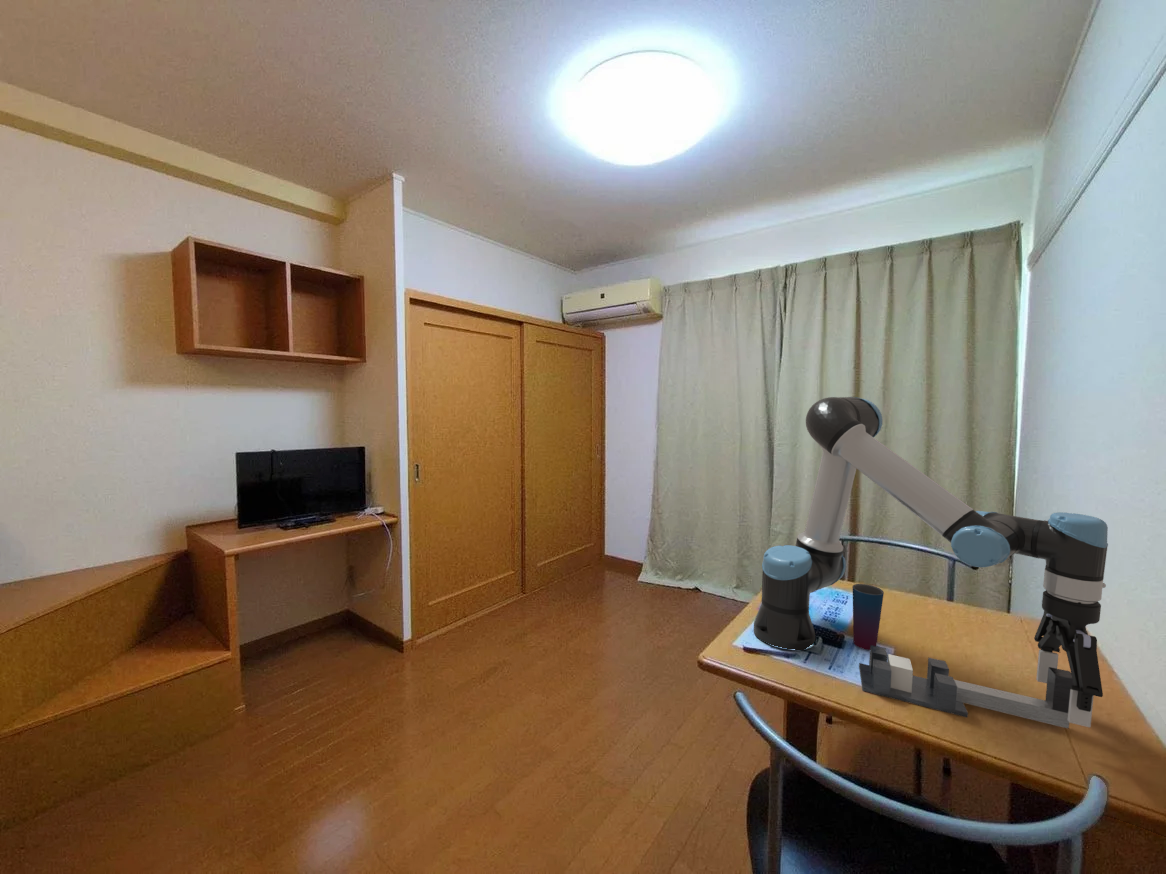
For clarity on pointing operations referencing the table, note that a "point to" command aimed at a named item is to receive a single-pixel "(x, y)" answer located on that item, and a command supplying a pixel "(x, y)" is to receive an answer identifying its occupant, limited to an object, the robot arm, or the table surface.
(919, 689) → the rail
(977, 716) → the table surface
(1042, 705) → the sliding bolt
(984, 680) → the table surface
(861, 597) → the cup
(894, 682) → the block
